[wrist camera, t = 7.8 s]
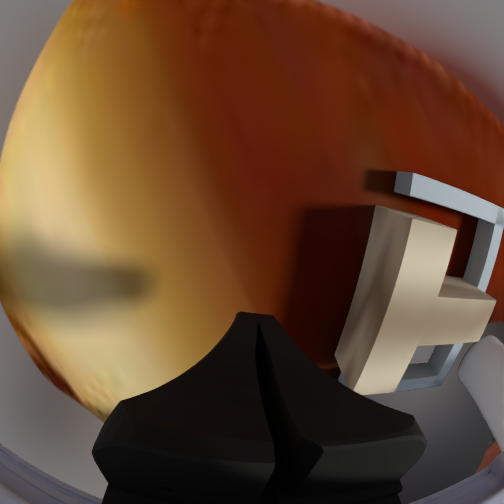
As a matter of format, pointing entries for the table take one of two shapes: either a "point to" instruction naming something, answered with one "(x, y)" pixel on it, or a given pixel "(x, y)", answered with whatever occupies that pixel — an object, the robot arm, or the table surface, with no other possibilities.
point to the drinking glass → (486, 382)
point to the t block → (406, 302)
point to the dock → (476, 269)
